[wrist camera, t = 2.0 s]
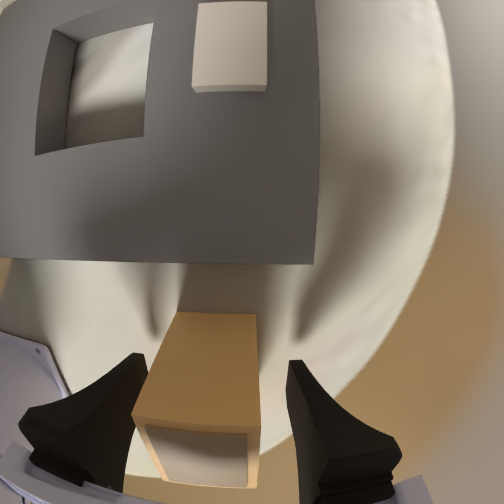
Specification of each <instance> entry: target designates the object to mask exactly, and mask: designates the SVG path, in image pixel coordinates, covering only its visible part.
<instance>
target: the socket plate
mask: <svg viewBox="0 0 504 504" xmlns="http://www.w3.org/2000/svg"><path fill="white" fill-rule="evenodd" d="M153 22H154V25H153V31H152V38H151V45H150V53H149V61H148V71H147V82H146V95H145V111H144V137H136V138H127V139H120V140H113V141H106V142H100V143H94V144H88V145H83V146H77V147H72V148H67V149H65V136H66V118H67V106H68V96H69V88H70V80H71V74H72V67H73V62H74V56H75V51H76V46H77V43H79V42H82V41H85V40H88V39H91V38H94V37H97V36H100V35H103V34H107V33H110V32H114V31H117V30H121V29H125V28H129V27H134V26H138V25H143V24H148V23H153ZM319 144H320V98H319V63H318V43H317V27H316V14H315V3H314V0H17V1H15V2H14V3H12V4H11V5H9V6H8V7H6V8H5V9H4V10H3V11H2V14H1V16H0V257H4V258H5V257H7V258H28V259H54V260H83V261H117V262H158V263H211V264H312V265H313V262H314V249H315V236H316V221H317V203H318V181H319Z"/></svg>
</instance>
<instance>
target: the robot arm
mask: <svg viewBox="0 0 504 504" xmlns="http://www.w3.org/2000/svg"><path fill="white" fill-rule="evenodd" d="M147 375H148V370H147V366H146V362H145V358H144V354H140V353H132V354H130V355H129V356H128V357H127V358H125V359H124V360H123V361H122V362H120V363H119V364H118V365H117V366H116V367H114V368H113V369H112V370H110V371H109V372H108V373H107V374H105V375H104V376H102V377H101V378H100V379H98V380H97V381H95V382H94V383H92V384H91V385H89V386H88V387H86V388H84V389H82V390H80V391H79V392H77V393H74V394H72V395H70V396H69V394H68V392H67V390H66V388H65V385H64V383H63V381H62V379H61V377H60V375H59V372H58V370H57V368H56V365H55V363H54V361H53V358H52V356H51V353H50V351H49V349H48V348H47V347H46V346H45V345H43V344H40V343H36V342H33V341H29V340H26V339H22V338H19V337H16V336H13V335H9V334H6V333H3V332H0V504H30V501H31V502H32V503H34V504H165V503H161V502H156V501H151V500H146V499H142V498H138V497H134V496H130V495H127V494H123V482H124V475H125V468H126V462H127V457H128V452H129V448H130V444H131V440H132V436H133V433H134V430H135V428H136V425H135V423H134V420H133V418H132V415H131V413H132V411H133V408H134V406H135V404H136V401H137V399H138V396H139V394H140V392H141V389H142V387H143V385H144V382H145V380H146V378H147ZM286 400H287V408H288V413H289V418H290V422H291V427H292V431H293V436H294V440H295V446H296V454H297V464H298V465H297V466H298V479H299V500H300V504H434V503H433V501H432V498H431V496H430V494H429V491H428V489H427V487H426V484H425V482H424V480H423V478H422V475H418V476H415V477H412V478H410V479H407V480H404V481H401V482H399V483H397V484H395V485H393V484H392V482H391V480H392V479H393V475H392V470H393V469H394V468H395V467H396V465H397V464H398V463H399V461H400V459H401V458H402V453H401V450H400V448H399V446H398V444H397V442H396V441H395V439H394V438H393V437H392V436H389V435H387V434H384V433H382V432H380V431H378V430H375V429H374V428H372V427H370V426H368V425H366V424H364V423H363V422H361V421H360V420H358V419H357V418H355V417H354V416H352V415H351V414H350V413H348V412H347V411H346V410H344V409H343V408H342V407H341V406H340V405H339V404H338V403H337V402H336V401H335V400H334V399H333V398H332V397H331V396H330V395H329V394H328V393H327V392H326V391H325V390H324V389H323V387H322V386H321V385H320V384H319V383H318V381H317V380H316V379H315V378H314V376H313V375H312V373H311V372H310V371H309V369H308V368H307V366H306V365H305V363H304V362H303V361H302V360H289V366H288V375H287V383H286Z"/></svg>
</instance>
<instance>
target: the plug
mask: <svg viewBox="0 0 504 504" xmlns="http://www.w3.org/2000/svg"><path fill="white" fill-rule="evenodd" d="M131 415H132V418H133V420H134V423H135V425H136V427H137V429H138V432H139V434H140V436H141V438H142V440H143V443H144V445H145V447H146V449H147V451H148V453H149V455H150V457H151V459H152V461H153V463H154V465H155V467H156V468H157V470H158V472H159V474H160V476H161V478H162V479H163V480H164V481H169V482H175V483H183V484H190V485H199V486H210V487H226V488H257V476H258V463H259V462H258V461H259V449H260V434H261V414H260V392H259V370H258V348H257V327H256V314H229V313H196V312H176V314H175V316H174V318H173V320H172V322H171V325H170V327H169V329H168V331H167V333H166V335H165V338H164V340H163V342H162V344H161V346H160V349H159V351H158V353H157V355H156V357H155V360H154V362H153V364H152V366H151V369H150V371H149V373H148V375H147V378H146V380H145V382H144V385H143V387H142V389H141V392H140V394H139V396H138V399H137V401H136V404H135V406H134V408H133V411H132V413H131Z"/></svg>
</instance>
